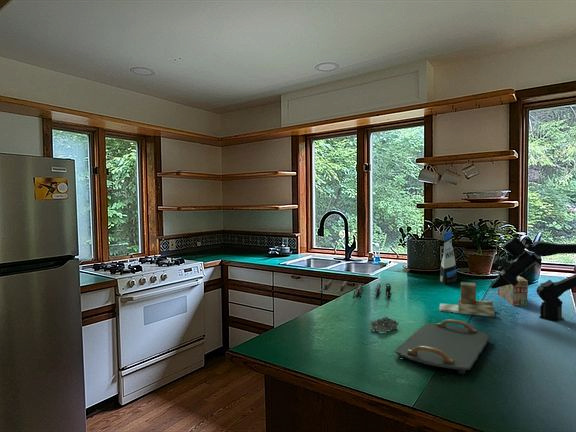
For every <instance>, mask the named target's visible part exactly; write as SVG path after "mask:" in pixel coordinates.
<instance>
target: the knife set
mask: <svg viewBox="0 0 576 432" xmlns="http://www.w3.org/2000/svg"><path fill="white" fill-rule="evenodd" d="M332 285H333V280H332V279H329V280H328V282H326V283H325V284H324V285H323V288H321V289H320V290H318V292H319V293H323V292H324V291H327V290H329V289H330V288H331V287H332ZM347 286H348V282H347V280H344V281H343V282H342V284H341V285H340V286H339V289H338V290H337V291H336V293H337V294H338V293H339V292H344V291H345V290H346V288H347ZM381 286H382V285H381V283H380V282H378V283H377V284H376V288H375V290H374V292H375V293H374V296H375V297H376V296H377V295H379V294H380V291H381ZM385 287H386V288H385V298H386V300H388V297H391V292H392V291H391V290H392V286H391V284H390V283H386V284H385ZM364 289H365V287H363V285H362V284H359V285H358V286H357V287H356V289H355V290H353V295H352V297H353V298H355V297H357V296H360V295H362V291H363V290H364Z"/></svg>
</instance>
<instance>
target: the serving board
mask: <svg viewBox="0 0 576 432" xmlns="http://www.w3.org/2000/svg"><path fill="white" fill-rule="evenodd" d="M451 324H452V325H451ZM453 324H456V325H453ZM458 325H461V326H458ZM490 339H491V335H490V334H488V333H487V332H483V331H479V330H478V329H475V328H473V327H472V325H471V324H469V323H468V322H466V321H463V320H458V319H452V318H451V319H445V320H443V321H442V322H438V323H433V322H429V323H424V324H423V325H422V326H421V327H420V328H419V329H417V331H415V332H414V333H413V334H412V335H410V336H409V337H408V338H407V339H406V340H405V341H403V342H402V343H401V344H400V345H398V347H396V348H395V350H394V353H395V354H397V355H398V356H397V357H399V358H405V359H408V360H411V361H414V362H418V363H420V364H424V365H428V366H433V367H437V368H438V367H439V368H444V369H451V370H457V374H458V373H459V375H460V374H462V375H461V376H465V375H466V371H469V370H471V368H473V365H474V363H475V362H476V361H477V360H478V358H479V355H480V354H481V353H483V350H484V348H485V347H486V346H487V343H488V342H489V341H490ZM399 358H398V359H399ZM464 374H465V375H464Z"/></svg>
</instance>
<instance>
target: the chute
mask: <svg viewBox="0 0 576 432" xmlns="http://www.w3.org/2000/svg"><path fill="white" fill-rule="evenodd" d="M457 300H458V302H457V303H458V304H454V303H453V304H451V303H439V307H438V311H439V312H441V311H443V312H442V313H451V312H453V313H454V314H461V315H462V314H463V315H474V316H484V317H485V316H486V317H495V309H496V308H495V306H494V302H493V301H489V300H478V299H476V305H473V304H461V298H458V299H457ZM453 313H452V314H453Z"/></svg>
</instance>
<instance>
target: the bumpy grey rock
mask: <svg viewBox="0 0 576 432" xmlns="http://www.w3.org/2000/svg"><path fill="white" fill-rule="evenodd" d="M383 324H384V325H383ZM399 324H400V321H398V322H397V321H396V320H395V319H392V318H389V317H387V316H384V317H381V318H378V319H376V320H371V321H370V322H369V325H371V327H370V328H372V329H371V331H372V330H378V332H384V333H385V332H386V333H387V330H389V331H391V330H392V329H397V330H398V326H399ZM392 331H393V330H392ZM392 331H391V332H392ZM378 332H377V333H378Z"/></svg>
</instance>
